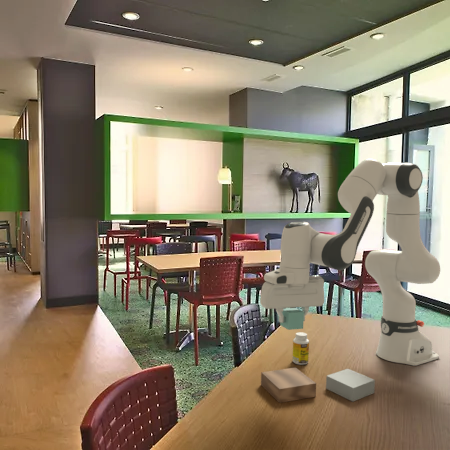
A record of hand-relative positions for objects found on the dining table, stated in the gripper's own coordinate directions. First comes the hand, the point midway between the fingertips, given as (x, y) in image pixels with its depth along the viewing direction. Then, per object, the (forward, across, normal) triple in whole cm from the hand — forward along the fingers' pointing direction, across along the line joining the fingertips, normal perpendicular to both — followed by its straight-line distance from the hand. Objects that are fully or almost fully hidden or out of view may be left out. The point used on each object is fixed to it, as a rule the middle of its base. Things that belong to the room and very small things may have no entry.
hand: (291, 321), depth 131 cm
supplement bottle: (+20, -14, -17) cm, 30 cm away
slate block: (+20, -17, +7) cm, 28 cm away
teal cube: (+2, 0, 0) cm, 2 cm away
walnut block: (+21, +1, +1) cm, 21 cm away
